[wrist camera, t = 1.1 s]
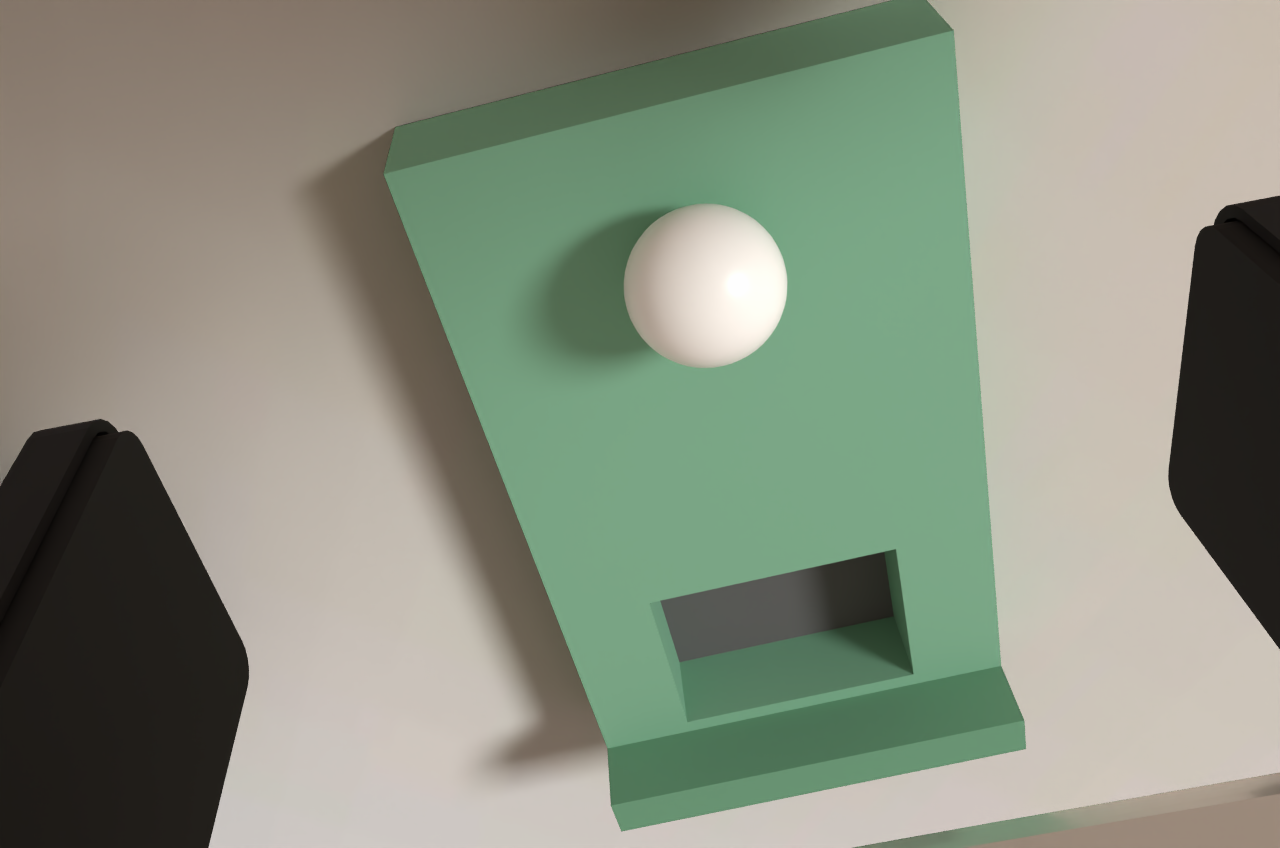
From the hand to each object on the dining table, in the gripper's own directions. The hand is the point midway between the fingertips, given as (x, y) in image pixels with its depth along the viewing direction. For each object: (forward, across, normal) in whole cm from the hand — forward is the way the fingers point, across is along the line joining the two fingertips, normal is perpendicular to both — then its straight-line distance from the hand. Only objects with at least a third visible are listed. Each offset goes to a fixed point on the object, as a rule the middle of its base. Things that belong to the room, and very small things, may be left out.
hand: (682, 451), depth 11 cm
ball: (+19, -2, +8) cm, 21 cm away
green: (+22, -2, +16) cm, 27 cm away
